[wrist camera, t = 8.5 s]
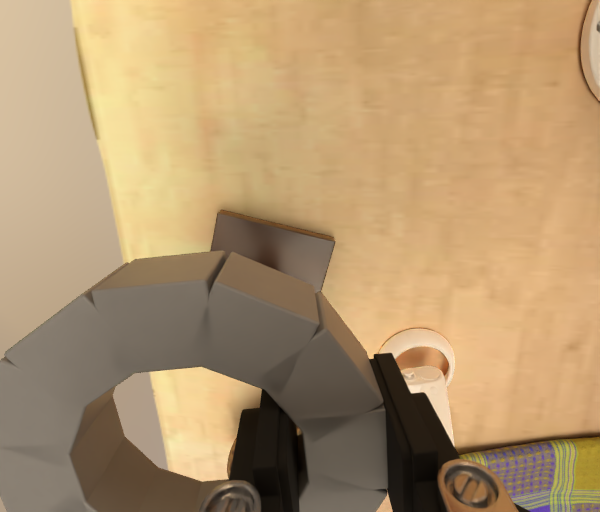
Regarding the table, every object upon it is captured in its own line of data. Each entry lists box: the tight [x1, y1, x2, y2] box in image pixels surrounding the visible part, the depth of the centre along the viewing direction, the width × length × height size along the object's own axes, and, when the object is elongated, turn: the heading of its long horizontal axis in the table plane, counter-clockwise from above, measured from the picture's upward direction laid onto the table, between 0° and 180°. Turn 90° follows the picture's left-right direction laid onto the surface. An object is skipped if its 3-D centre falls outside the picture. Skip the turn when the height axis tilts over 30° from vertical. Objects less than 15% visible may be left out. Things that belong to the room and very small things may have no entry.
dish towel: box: [459, 437, 600, 512], centre depth 40 cm, size 18×24×3 cm
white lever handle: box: [378, 328, 455, 447], centre depth 33 cm, size 8×12×7 cm
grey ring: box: [0, 251, 388, 512], centre depth 11 cm, size 10×10×2 cm
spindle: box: [210, 210, 335, 293], centre depth 28 cm, size 10×10×12 cm
